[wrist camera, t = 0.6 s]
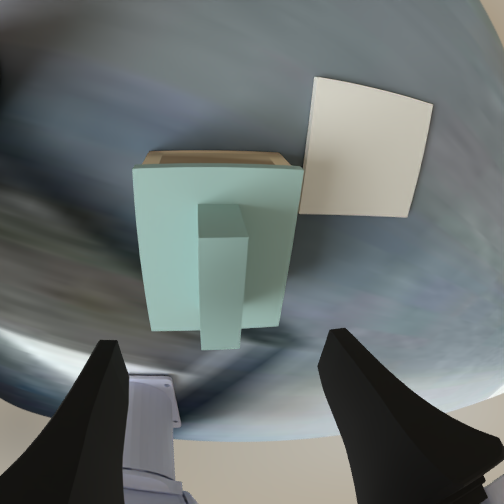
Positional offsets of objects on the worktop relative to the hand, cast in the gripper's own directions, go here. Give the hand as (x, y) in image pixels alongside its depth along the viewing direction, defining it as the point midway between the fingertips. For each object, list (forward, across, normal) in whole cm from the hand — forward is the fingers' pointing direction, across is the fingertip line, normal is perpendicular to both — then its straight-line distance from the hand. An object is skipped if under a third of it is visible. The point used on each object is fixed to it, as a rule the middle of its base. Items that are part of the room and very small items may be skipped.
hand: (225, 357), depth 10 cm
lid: (+7, 0, 0) cm, 7 cm away
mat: (+10, -9, -5) cm, 14 cm away
